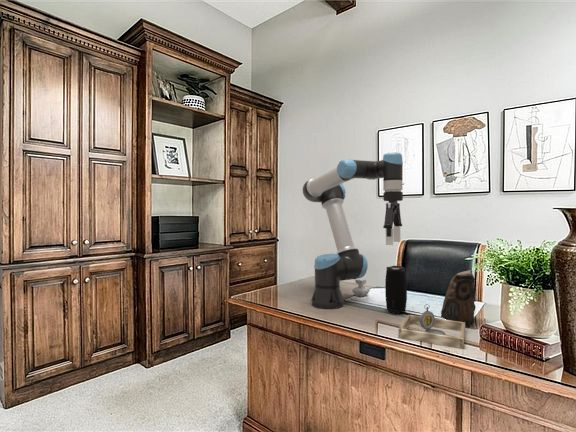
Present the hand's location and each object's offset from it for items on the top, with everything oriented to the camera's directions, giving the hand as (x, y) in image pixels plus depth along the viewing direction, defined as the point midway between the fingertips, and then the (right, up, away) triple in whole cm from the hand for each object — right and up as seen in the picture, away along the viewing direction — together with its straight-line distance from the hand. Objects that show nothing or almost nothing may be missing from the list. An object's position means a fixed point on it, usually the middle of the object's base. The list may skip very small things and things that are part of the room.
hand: (393, 243), depth 137 cm
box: (+9, -31, -17) cm, 36 cm away
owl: (+25, -31, -3) cm, 40 cm away
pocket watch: (+9, -31, -17) cm, 37 cm away
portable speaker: (+4, -31, +9) cm, 32 cm away
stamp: (-5, -30, +37) cm, 48 cm away
